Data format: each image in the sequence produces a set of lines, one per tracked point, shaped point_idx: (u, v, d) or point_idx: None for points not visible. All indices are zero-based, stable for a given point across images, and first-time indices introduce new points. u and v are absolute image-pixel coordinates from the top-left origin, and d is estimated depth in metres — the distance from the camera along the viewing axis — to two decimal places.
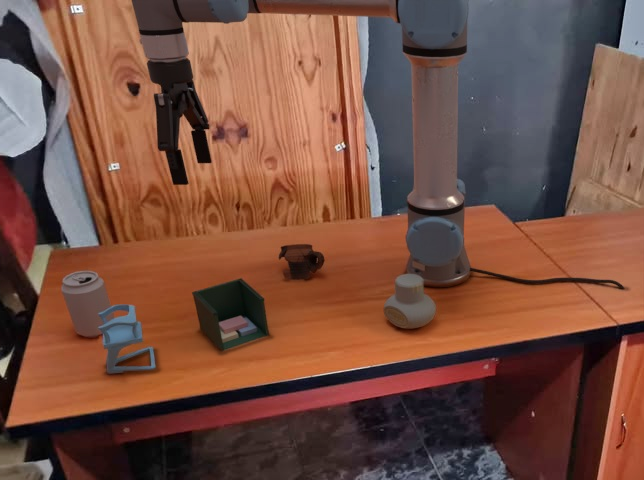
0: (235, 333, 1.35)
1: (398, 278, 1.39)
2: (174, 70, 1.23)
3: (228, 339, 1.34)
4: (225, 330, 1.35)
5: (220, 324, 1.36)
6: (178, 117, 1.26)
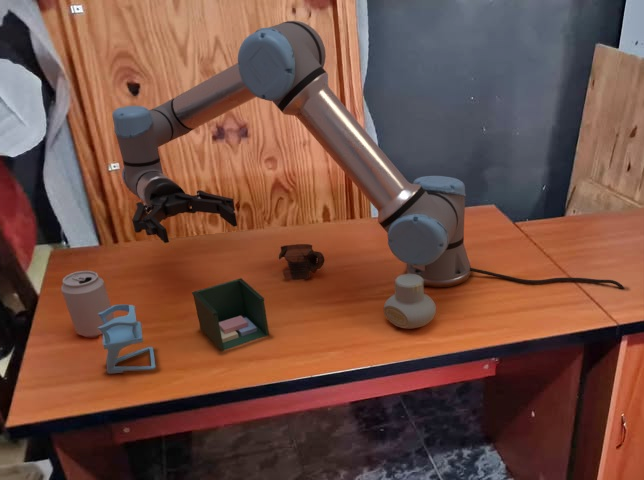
0: (235, 333, 1.35)
1: (398, 278, 1.39)
2: (147, 190, 1.41)
3: (228, 339, 1.34)
4: (225, 330, 1.35)
5: (220, 324, 1.36)
6: (157, 207, 1.36)
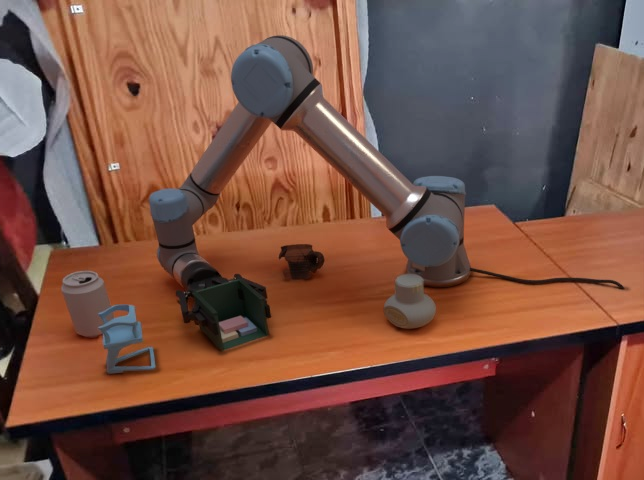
0: (235, 333, 1.35)
1: (398, 278, 1.39)
2: (184, 275, 1.41)
3: (228, 339, 1.34)
4: (225, 330, 1.35)
5: (220, 324, 1.36)
6: None
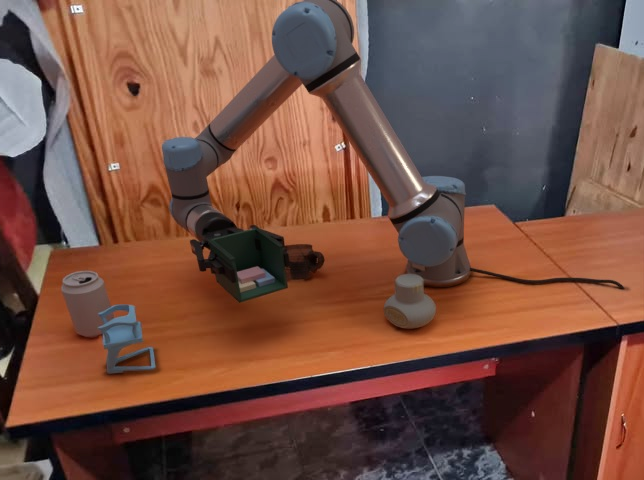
0: (252, 283, 1.30)
1: (398, 278, 1.39)
2: (198, 225, 1.36)
3: (245, 289, 1.29)
4: (242, 280, 1.29)
5: (237, 274, 1.31)
6: None
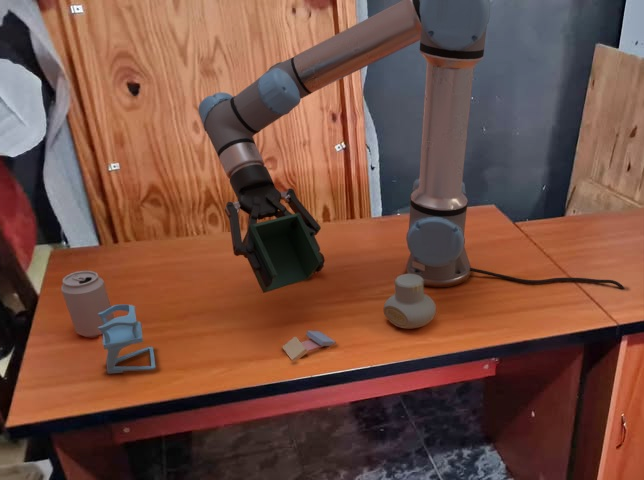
0: None
1: (398, 278, 1.39)
2: (237, 177, 1.27)
3: None
4: None
5: None
6: (253, 220, 1.27)
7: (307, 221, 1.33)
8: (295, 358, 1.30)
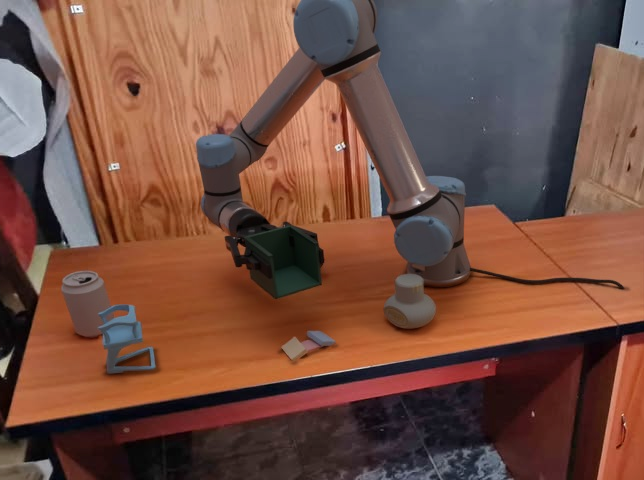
0: None
1: (398, 278, 1.39)
2: (232, 221, 1.37)
3: None
4: None
5: None
6: None
7: None
8: (295, 358, 1.30)
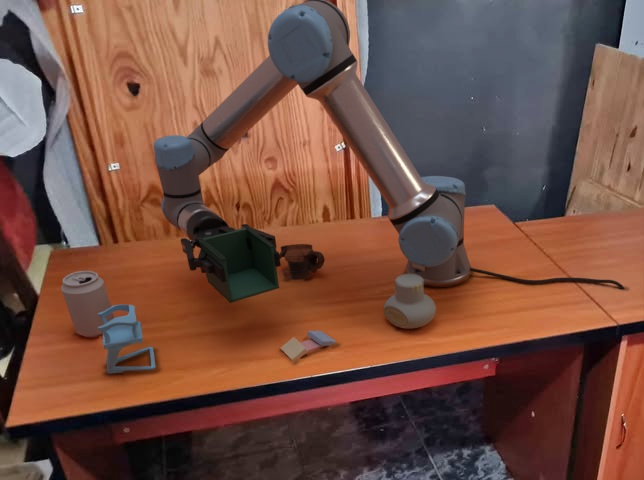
0: None
1: (398, 278, 1.39)
2: (190, 223, 1.36)
3: None
4: None
5: None
6: None
7: None
8: (295, 358, 1.30)
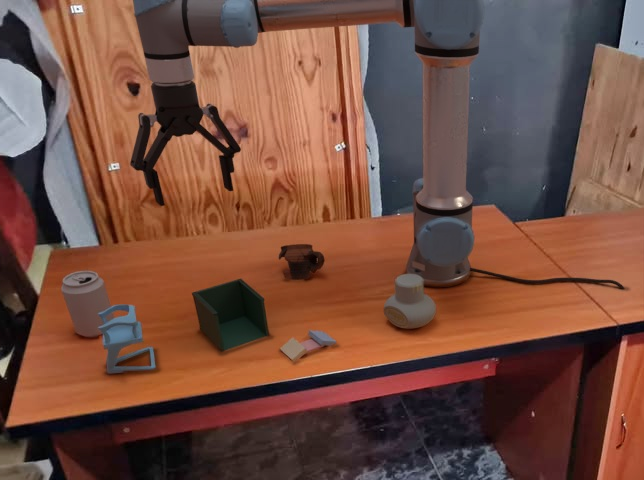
0: None
1: (398, 278, 1.39)
2: (160, 94, 1.19)
3: None
4: None
5: None
6: (164, 140, 1.24)
7: (228, 141, 1.32)
8: (295, 358, 1.30)
